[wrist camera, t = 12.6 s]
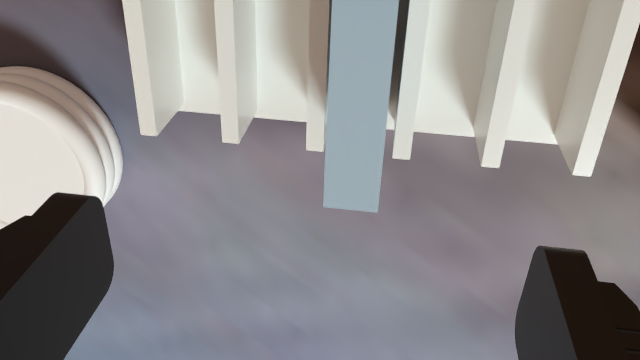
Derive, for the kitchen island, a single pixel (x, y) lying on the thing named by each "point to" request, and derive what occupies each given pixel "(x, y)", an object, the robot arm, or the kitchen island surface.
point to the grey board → (358, 101)
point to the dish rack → (407, 70)
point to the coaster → (51, 143)
